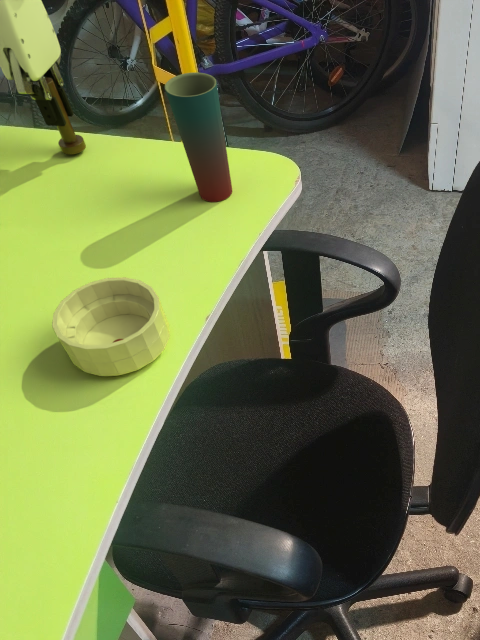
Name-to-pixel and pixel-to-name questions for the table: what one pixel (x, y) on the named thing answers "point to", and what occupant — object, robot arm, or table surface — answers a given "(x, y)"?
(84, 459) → the table surface
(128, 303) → the bowl
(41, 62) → the robot arm
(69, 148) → the masher
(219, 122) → the cup
